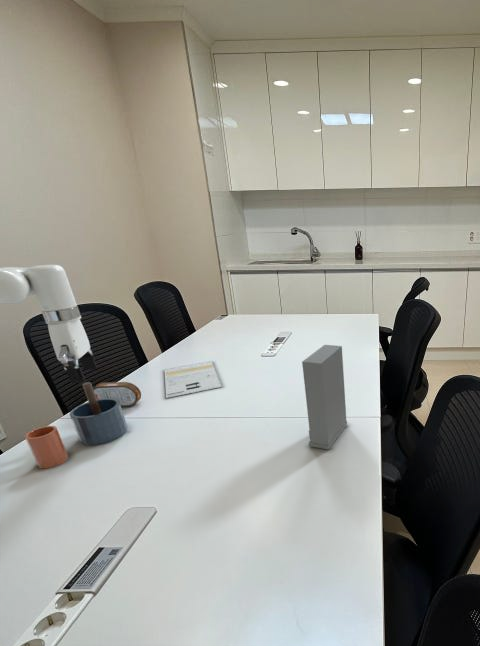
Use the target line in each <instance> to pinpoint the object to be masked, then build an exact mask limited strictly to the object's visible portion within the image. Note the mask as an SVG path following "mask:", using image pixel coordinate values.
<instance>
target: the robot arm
mask: <svg viewBox="0 0 480 646" xmlns="http://www.w3.org/2000/svg"><path fill="white" fill-rule="evenodd" d="M33 295H34V297H35V298H36V301H37V303H38V306H39V308H40V311H41V314H42V317H43V319H44V321H45V324H47V329H48V333H49V337H50V341H51V344H52V347H53V350H54V353H55V356H56V359H57V360H58V361H59V362H60V363H61V366H62V367H63V370H65V372H66V374H67V377H68V380H69V382H70V384H80V383H85V381H86V378H85V376H84V374H83V373H84V372H83V371H82V370H84V371H91V370H97V369H98V366H97V363H96V360H95V357H94V353H93V351H92V350H91V348H92V347H91V344H90V340H89V337H88V334H87V332H86V330H85V328H84V326H83V323H82V321H81V319H82V315H81V312H80V309H79V306H78V304H77V301H76V298H75V295H74V293H73V290H72V287H71V284H70V281H69V278H68V276H67V272H66V270H65V269H64V267H63V266H62V265H59V264H41V265H40V264H39V265H34V266H30V267H29V266H28V267H27V266H25V267H24V266H23V267H21V266H4V267H0V304H3V305H15V304H19V303H21V302H22V301H24V300H25V299H26V298H27V297H29V296H33ZM79 360H80V363H81V366H82V368H83V369H82V368H81V367H80V366H79ZM72 361H73V362H72Z"/></svg>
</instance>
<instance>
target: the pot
mask: <svg viewBox="0 0 480 646" xmlns="http://www.w3.org/2000/svg"><path fill="white" fill-rule="evenodd" d="M97 401H98V404H99V407H100V410H101V413H100V414H97V415H93V412H92V410H91V407H90V404H89V402H84V403H81V404H79V405H77V406H76V407H74V408H73V409H72V410H71V411H70V412H69V417H70V419H71V422H72V424H73V427H74V429H75V432H76V434H77V435H76V436H77V438H78V439H79V442H80V443H82V444H83V445H85V446H97V445H98V446H99V445H102V444H107V443H110V442H113V441H114V440H117V439H119V438H120V437H122V436H124V435H125V434H126V433H127V430H128V428H129V427H128V424H127V420H126V417H125V413H124V411H123V408H122V407H121V405H120V402H119V401H118V400H117V399H112V398H106V399H98V400H97Z"/></svg>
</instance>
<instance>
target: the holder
mask: <svg viewBox="0 0 480 646" xmlns="http://www.w3.org/2000/svg"><path fill="white" fill-rule="evenodd" d="M24 438H25V440H26V443H27V445H28V446H29V449H30V451H31V453H32V456H33V458H34V460H35V462H36V465H37V466H38V468H40V469H50V468H55V467H57V466H60V465H61V464H63V463H65V462H66V461H67V460H68V459H69V454H68V451H67V449H66V447H65V444H64V441H63V440H62V437H61V435H60V432H59V429H58V427H57V426H55V425H46V426H45V425H44V426H40V427H38V428H37V427H36V428H35V429H32V430H30V431H29V432H27V433H26V434H25V435H24Z"/></svg>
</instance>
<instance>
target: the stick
mask: <svg viewBox="0 0 480 646" xmlns="http://www.w3.org/2000/svg"><path fill="white" fill-rule="evenodd" d="M82 388H83V390H84V393H85V396H86V398H87V401H88V402H89V404H90V407H91V410H92V412H93V415H97V414H100V413H101V410H100V407H99V404H98V401H97V399H96V396H95V393H94V390H93V389H94V386H93V384H92V382H90V381H88V382H83V383H82Z"/></svg>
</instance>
